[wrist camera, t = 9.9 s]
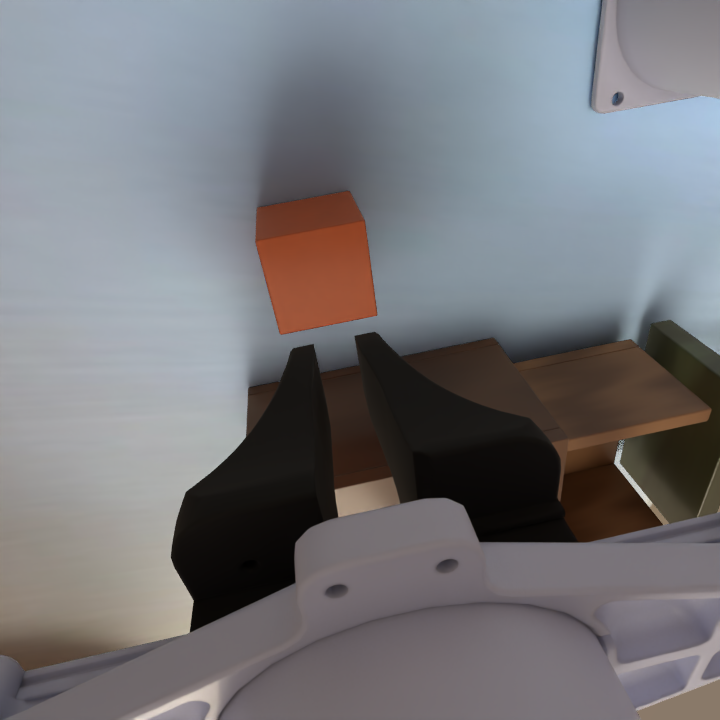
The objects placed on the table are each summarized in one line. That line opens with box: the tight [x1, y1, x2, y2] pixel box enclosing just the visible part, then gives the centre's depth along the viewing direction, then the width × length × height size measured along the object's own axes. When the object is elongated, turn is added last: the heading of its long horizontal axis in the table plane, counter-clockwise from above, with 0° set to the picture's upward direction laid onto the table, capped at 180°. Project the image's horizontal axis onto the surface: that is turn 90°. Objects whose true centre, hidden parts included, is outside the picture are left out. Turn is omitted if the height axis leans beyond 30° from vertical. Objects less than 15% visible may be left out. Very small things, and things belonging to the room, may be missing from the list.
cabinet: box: [246, 338, 569, 517], centre depth 28 cm, size 14×12×8 cm
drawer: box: [513, 320, 720, 543], centre depth 28 cm, size 18×11×7 cm, turn 98°
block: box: [255, 191, 377, 335], centre depth 22 cm, size 4×4×4 cm
